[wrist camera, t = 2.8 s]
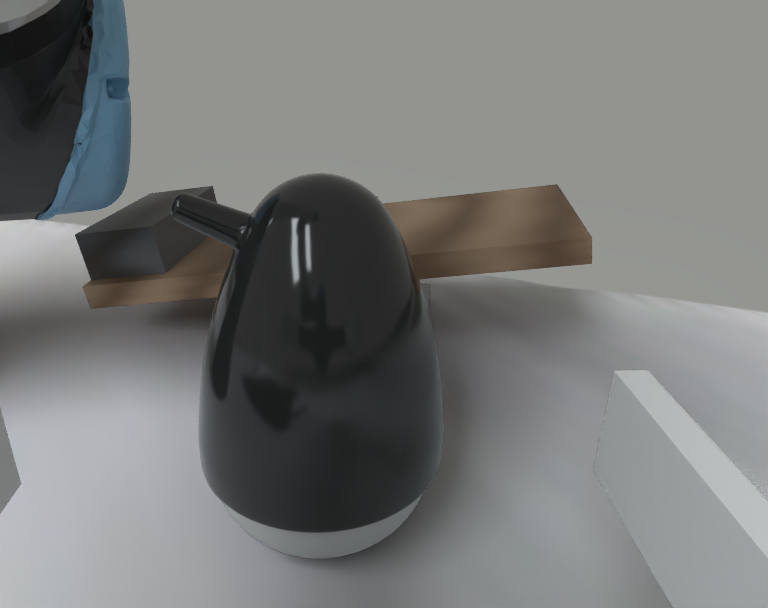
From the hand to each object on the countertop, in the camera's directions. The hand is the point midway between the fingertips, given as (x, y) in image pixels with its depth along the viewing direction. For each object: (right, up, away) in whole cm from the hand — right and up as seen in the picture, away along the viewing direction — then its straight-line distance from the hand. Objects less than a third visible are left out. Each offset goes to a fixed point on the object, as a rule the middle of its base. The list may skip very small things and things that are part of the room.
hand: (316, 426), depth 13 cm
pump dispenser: (-1, -7, +14) cm, 16 cm away
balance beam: (-1, +6, +27) cm, 28 cm away
